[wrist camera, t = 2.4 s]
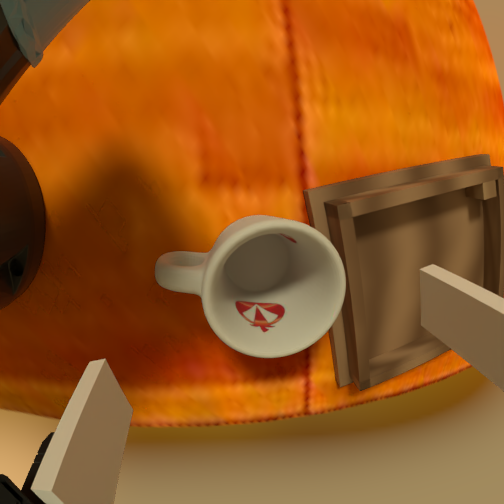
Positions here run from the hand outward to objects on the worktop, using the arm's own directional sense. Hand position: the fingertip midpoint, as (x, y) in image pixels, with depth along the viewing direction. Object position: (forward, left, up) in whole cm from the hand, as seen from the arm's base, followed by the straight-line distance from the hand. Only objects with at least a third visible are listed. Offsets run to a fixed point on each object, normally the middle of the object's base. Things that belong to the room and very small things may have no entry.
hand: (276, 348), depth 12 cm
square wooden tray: (+16, -5, -13) cm, 21 cm away
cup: (0, 0, -13) cm, 13 cm away
